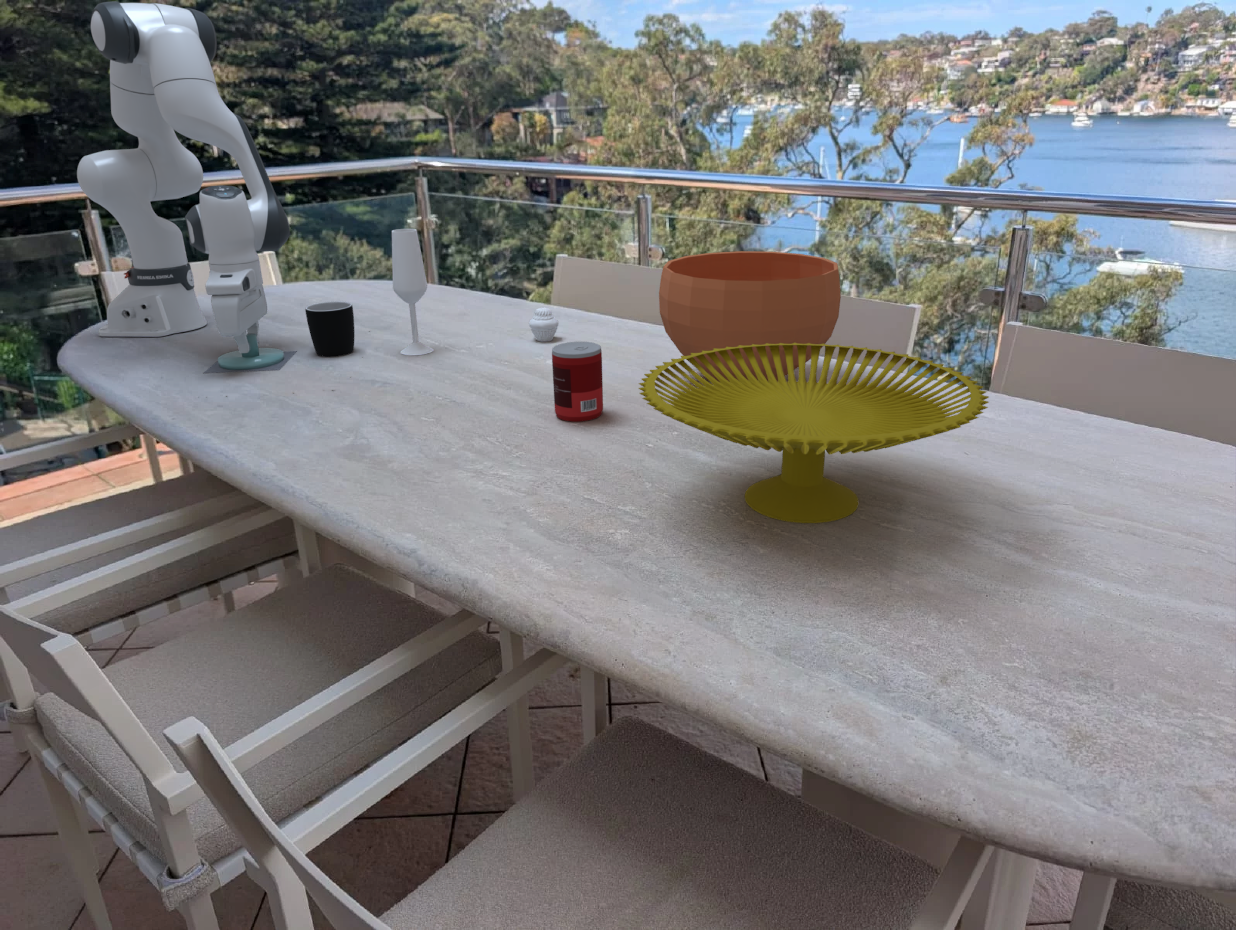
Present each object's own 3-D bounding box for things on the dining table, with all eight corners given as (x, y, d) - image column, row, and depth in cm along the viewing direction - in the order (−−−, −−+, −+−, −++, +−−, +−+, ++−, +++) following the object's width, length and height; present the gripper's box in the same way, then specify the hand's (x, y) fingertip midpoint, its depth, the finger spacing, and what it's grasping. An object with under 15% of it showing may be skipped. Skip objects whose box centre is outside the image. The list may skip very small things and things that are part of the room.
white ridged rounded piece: (557, 343, 189) (556, 309, 186) (528, 343, 189) (526, 310, 186) (560, 336, 195) (558, 303, 192) (531, 336, 195) (529, 304, 192)
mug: (367, 355, 183) (361, 305, 179) (327, 364, 177) (319, 313, 174) (336, 345, 191) (329, 297, 187) (296, 354, 185) (289, 304, 181)
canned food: (610, 408, 148) (608, 342, 144) (592, 424, 141) (590, 355, 137) (566, 404, 151) (563, 339, 147) (547, 420, 144) (543, 352, 140)
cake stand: (627, 448, 131) (625, 347, 125) (901, 436, 133) (911, 336, 128) (657, 587, 94) (657, 451, 88) (1038, 567, 96) (1061, 433, 90)
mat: (203, 377, 171) (202, 373, 170) (226, 357, 184) (226, 353, 183) (279, 373, 172) (279, 369, 171) (297, 354, 185) (297, 350, 184)
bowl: (835, 413, 144) (844, 283, 136) (647, 405, 149) (646, 280, 142) (832, 362, 171) (840, 251, 163) (674, 357, 177) (674, 250, 169)
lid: (210, 371, 171) (205, 344, 169) (229, 355, 182) (224, 329, 180) (275, 368, 172) (271, 341, 170) (290, 352, 183) (286, 327, 181)
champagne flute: (437, 346, 188) (426, 227, 179) (428, 355, 182) (415, 232, 173) (406, 346, 189) (393, 228, 180) (395, 355, 183) (381, 232, 174)
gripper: (236, 267, 181) (248, 336, 186) (201, 287, 162) (216, 363, 167) (269, 266, 181) (280, 334, 186) (238, 286, 162) (251, 361, 167)
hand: (249, 348), depth 176 cm, fingers open, 4 cm apart
